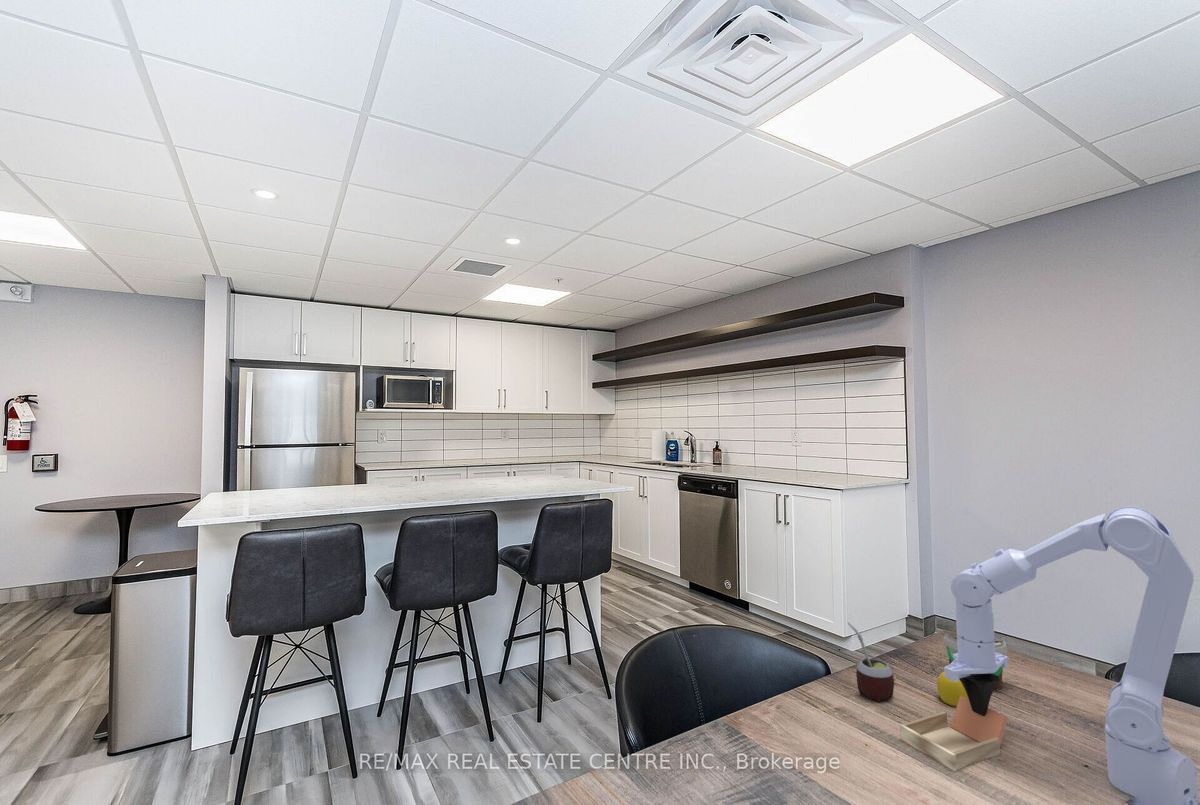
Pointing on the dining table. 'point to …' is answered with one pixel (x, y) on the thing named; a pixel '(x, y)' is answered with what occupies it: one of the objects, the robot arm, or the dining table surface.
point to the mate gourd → (873, 676)
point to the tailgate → (978, 722)
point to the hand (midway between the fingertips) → (979, 713)
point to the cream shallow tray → (946, 742)
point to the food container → (953, 649)
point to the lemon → (950, 690)
